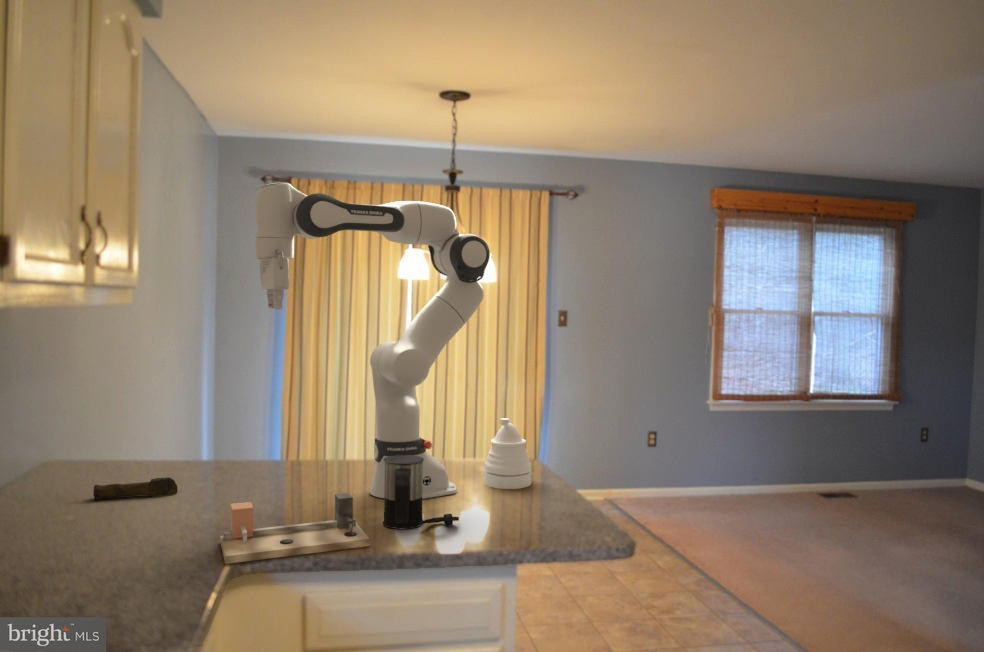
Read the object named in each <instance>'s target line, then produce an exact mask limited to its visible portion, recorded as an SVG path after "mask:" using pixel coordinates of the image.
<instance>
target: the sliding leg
mask: <svg viewBox="0 0 984 652" xmlns="http://www.w3.org/2000/svg"><path fill="white" fill-rule="evenodd" d="M253 529H254V506H253V504H252V502H251V501H245V502H237V503H230V532H231V531H232V538H241V537H243V544H247V537H250V536H253Z"/></svg>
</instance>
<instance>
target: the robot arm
mask: <svg viewBox="0 0 984 652" xmlns="http://www.w3.org/2000/svg"><path fill="white" fill-rule="evenodd" d="M255 201H256V204H255V223H256V225H257V228H256V229H257V231H256V235H255V258H257V260H259V273H260V283H261V288H262V289H263V290H266V299H267V308H268V309H274V310H282V309H283V301H284V296H285V295H284V294H285V293H284V292H285V291H284V290H286V291H287V290H289V288H290V267H289V266H290V265H289V264H290V263H289V261H290V260H291V259H294V258H295V236H298V237H302V238H304V239H308V240H314V239H319V238H324V237H328V236H331V235H333V234H335V233H338V232H342V231H359V232H360V231H361V232H372V233H373V232H374V233H379V234H381V235H382V236H383V237H384V238H385V239H386V240H387V241H390V242H393V243H397V244H402V245H403V244H404V245H423V246H424V245H426V246H428V247H427V248H428V251H429V254H430V261H431V263H432V266H433V268H434V270H436V272H437V273H440V274H441V275H443V276H446V279H445V281H444V284H443V285H442V286H441V288H440V290H438V291H437V292H436V293H435V294H434V295H433V296H432V297H431V298H430V300H428V302H427V303H426V304H425V305H423V307H422V308H421V309H419V311H418V312H417V313H416V314H415V315H414V316H413V318H412V320H411V323H410V324H409V325H408V327H407V329H406V330H405V332H404V333H403V334H402V336H401V337H400V338H399V340H397V341H395V340H389V341H385V342H382V343H380V344H379V345H377V346H376V347H375V348H374V350H372V352H371V354H370V359H369V362H370V367H371V375H372V383H373V392H374V398H375V406H376V437H375V439H374V444H373V445H374V446H373V448H374V451H373V453H374V454H373V455H374V461H375V462H374V463H375V464H374V472H373V479H372V483H371V486H370V490H369V495H372V496H373V497H376V498H380V499H384V497H385V496H384V483H385V461H384V460H383V459H384V458H386V457H389V456H395V455H414V456H420V457H423V458H424V461H423V478H422V500H424V499H429V498H430V499H431V498H435V497H441V496H442V497H443V496H448V495H453V494H455V495H456V493H457V492H458V490H457V489H458V488H457V486H456V484H455V483H454V482H452V481H451V480H449V476H448V475H449V474H448V470H447V469H446V466H445V465H444V464H443V463H442V462H440V461H439V460H438V459H437V458H436V457H434V456H433V455H431V454H430V453H428V451H427V450H430V449H432V448H433V442H432V441H430V440H428V439H425V438H422V437H420V417H421V416H420V409H421V408H420V405H419V402H418V397H417V394H416V386H419V385H421V384H422V383H423V382H425V380H426V379H427V377H428V375H429V374H430V373H429V372H430V369H431V368H432V366H433V364H434V363H435V361H436V360H437V358H438V357H439V355H440V353H441V352H442V350H443V349H444V348H445V346H446V345H447V344H448V343H449V342H450V341H451V340H452V339H453V338H454V336H455V335H456V334H457V333H458V332H459V331H460V330H461V329H462V328H463V326H464V325H466V323H467V322H468V321H469V319H470V318H472V316H473V315H474V313H475V312H476V311H477V310H478V308H479V306H480V305H481V303H482V302H483V299H484V296H485V292H484V288H483V286H482V284H481V283H480V282H479V281H480V280H482V279H483V277H484V275H485V271H486V268H487V266H488V263H489V261H490V255H491V254H490V252H491V251H490V248H489V245H488V243H487V242H486V240H484V238H482V237H480V236H478V235H476V234H473V233H463V234H462V233H461V234H460V232H459V230H458V229H457V219H456V215H455V213H454V211H453V210H452V209H451V208H450V207H448V206H444V205H442V204H437V203H433V202H429V201H428V202H427V201H426V202H425V201H415V200H400V201H394V202H388V203H384V204H378V205H375V204H364V203H363V204H362V203H350V202H349V203H348V202H344V201H340V200H339V199H336V198H335V197H333V196H330V195H329V194H326V193H322V192H317V193H312V194H308V195H307V194H305V193H303V192H301V191H300V190H298V189H297V188H295V187H293V186H292V184H291V183H289V182H272V183H267V184H266V185H263V186H261V187H260V188H259V190H258V192H257V196H256V200H255ZM289 259H290V260H289Z"/></svg>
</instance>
